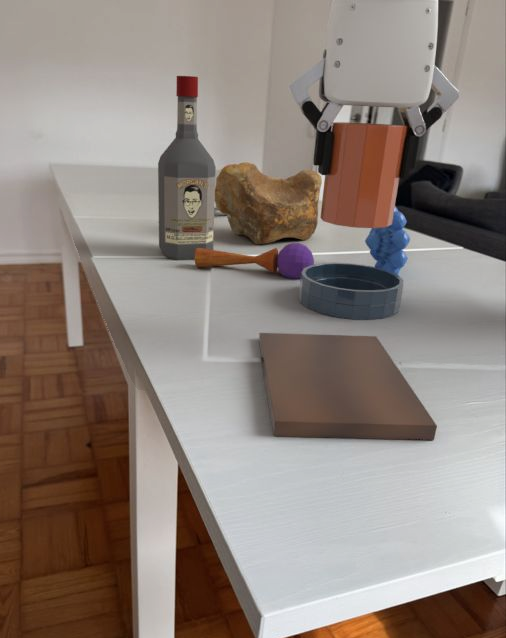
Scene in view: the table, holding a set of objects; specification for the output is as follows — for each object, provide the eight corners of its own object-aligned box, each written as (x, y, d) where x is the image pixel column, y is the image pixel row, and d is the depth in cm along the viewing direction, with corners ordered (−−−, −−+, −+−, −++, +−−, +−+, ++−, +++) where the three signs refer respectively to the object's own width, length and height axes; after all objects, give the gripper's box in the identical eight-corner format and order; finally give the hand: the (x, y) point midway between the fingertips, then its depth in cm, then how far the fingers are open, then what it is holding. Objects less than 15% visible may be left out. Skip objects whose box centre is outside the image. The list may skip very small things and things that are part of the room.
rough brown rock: (217, 251, 109) (223, 174, 102) (210, 227, 124) (215, 158, 117) (330, 256, 113) (343, 181, 106) (310, 232, 127) (320, 165, 120)
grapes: (347, 266, 100) (355, 198, 95) (381, 265, 101) (392, 199, 96) (374, 285, 90) (385, 210, 85) (412, 284, 91) (425, 211, 86)
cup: (380, 216, 61) (394, 124, 57) (399, 229, 55) (416, 126, 51) (316, 213, 61) (326, 121, 57) (327, 226, 55) (339, 123, 51)
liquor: (157, 248, 106) (154, 75, 94) (202, 247, 109) (206, 78, 97) (167, 261, 98) (166, 74, 86) (215, 258, 101) (221, 77, 89)
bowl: (382, 292, 86) (387, 264, 84) (411, 325, 73) (417, 293, 72) (293, 289, 86) (295, 261, 84) (306, 322, 73) (309, 289, 71)
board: (374, 347, 66) (376, 336, 65) (434, 440, 48) (437, 425, 47) (258, 344, 65) (259, 332, 65) (273, 436, 47) (274, 421, 47)
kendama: (204, 239, 97) (317, 243, 91) (203, 273, 98) (315, 279, 92) (191, 240, 91) (311, 243, 86) (191, 276, 93) (309, 282, 87)
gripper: (469, -18, 52) (433, 175, 60) (288, -28, 52) (274, 168, 59) (505, -37, 46) (460, 184, 53) (297, -48, 45) (280, 176, 52)
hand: (361, 174), depth 56 cm, fingers closed on cup, 7 cm apart
